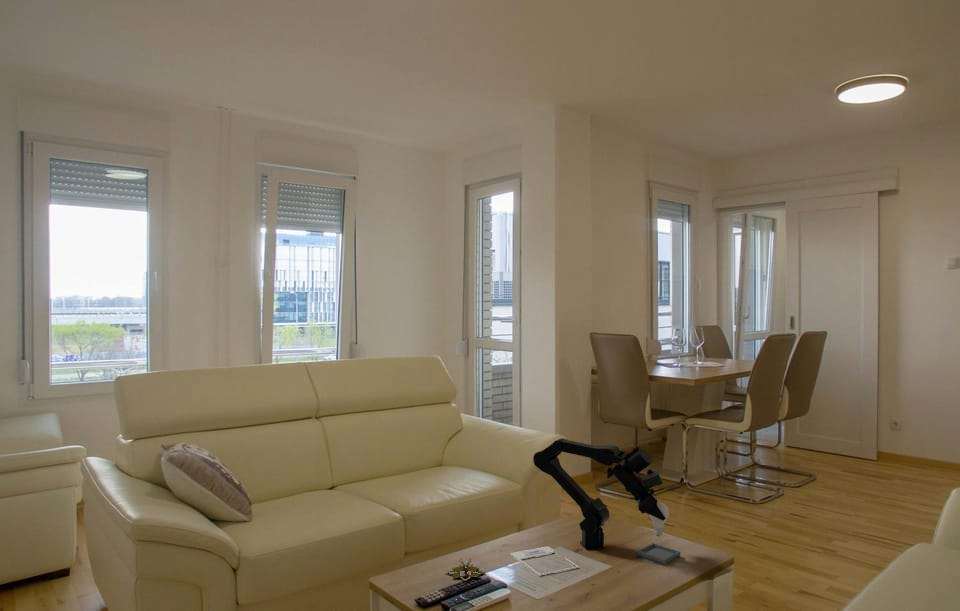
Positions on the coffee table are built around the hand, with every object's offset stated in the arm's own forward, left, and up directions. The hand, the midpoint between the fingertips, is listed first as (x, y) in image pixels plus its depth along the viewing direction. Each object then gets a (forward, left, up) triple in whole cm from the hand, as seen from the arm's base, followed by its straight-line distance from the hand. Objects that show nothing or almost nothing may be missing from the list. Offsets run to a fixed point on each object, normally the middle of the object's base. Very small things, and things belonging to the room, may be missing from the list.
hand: (663, 516), depth 200 cm
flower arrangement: (-65, -1, -14) cm, 67 cm away
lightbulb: (-1, +1, -7) cm, 7 cm away
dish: (-1, 0, -13) cm, 13 cm away
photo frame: (-39, +3, -14) cm, 42 cm away
